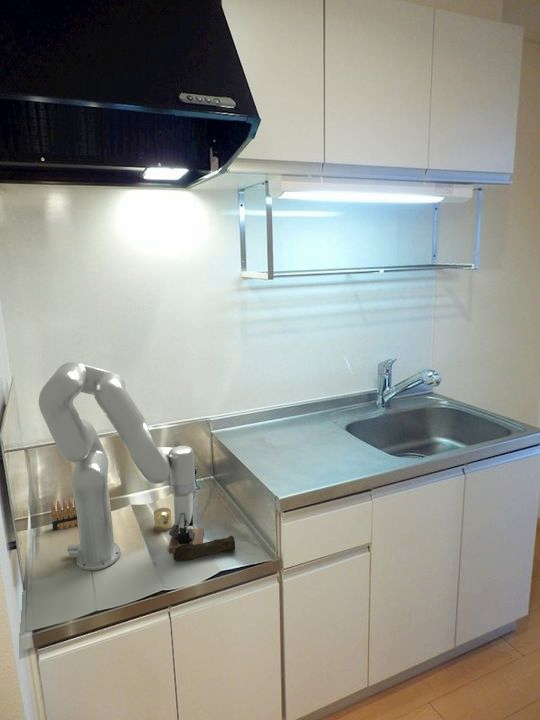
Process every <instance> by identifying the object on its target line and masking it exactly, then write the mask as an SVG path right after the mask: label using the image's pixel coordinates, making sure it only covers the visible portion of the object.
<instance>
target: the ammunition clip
mask: <svg viewBox="0 0 540 720" xmlns="http://www.w3.org/2000/svg"><path fill="white" fill-rule="evenodd" d="M67 502H68V504H67ZM67 502H66V499H65V498H63V500H62V506H61V502H60V500H59V499H57V502H56V505H55V502H54V501H53V500H52V501H51V504H50V509H51V510H50V515H51V516H50V517H51V521H52V522H51V524H52V531H53V532H55V531H58V530H63V529H68V528H70V527H71V528H74V527H78V521H77V514H76V506H75V500H74V499H73V502H72V499H71V497H69V498H68V501H67ZM67 505H68V506H67Z"/></svg>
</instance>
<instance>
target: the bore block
mask: <svg viewBox="0 0 540 720" xmlns="http://www.w3.org/2000/svg"><path fill="white" fill-rule="evenodd" d="M188 529H189V530H191V531H192V532H193V533H194V538H193V541H191V542H190V543H193V545H194V544H201V543H204V542H203V541H204V535H205V529H204V527H202V528H201V527H200V528H199V527H198V528H188ZM181 545H184V544H179V541H178V540H176V539H175V538H173V537H172V536H170V542H169V545H168V553H169V554H171V553H172V554H174V552H175V550H176V548H178V546H181Z"/></svg>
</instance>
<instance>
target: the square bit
mask: <svg viewBox="0 0 540 720" xmlns="http://www.w3.org/2000/svg"><path fill="white" fill-rule="evenodd" d="M184 528H186V526H184ZM189 529H190V528H188V531H189V537H190V542H193V541H194V533H193V532H192V531H191V530H189ZM168 534H169V536H170V537H173V538H175V539H176V540H178V541H179V524H178V525H175V523H174V524H172V527H171V529H169V533H168Z"/></svg>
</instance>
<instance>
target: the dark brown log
mask: <svg viewBox="0 0 540 720" xmlns="http://www.w3.org/2000/svg"><path fill="white" fill-rule="evenodd" d="M228 550H233V551H235V550H236V540H235V536H233V535H229V536H228V537H223V538H219V539H217V538H216V539H212V540H210V541H207V542H203V543H201V544H194V545H193V543H189V544H184V545H181V546H178V548H176V550H175V552H174V553H173V555H172V556H173V561H176V562H178V561H181V562H182V561H191V560H194V558H196V557H200V556H205V555H209V554H213V553H218V552H223V551H228Z"/></svg>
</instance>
